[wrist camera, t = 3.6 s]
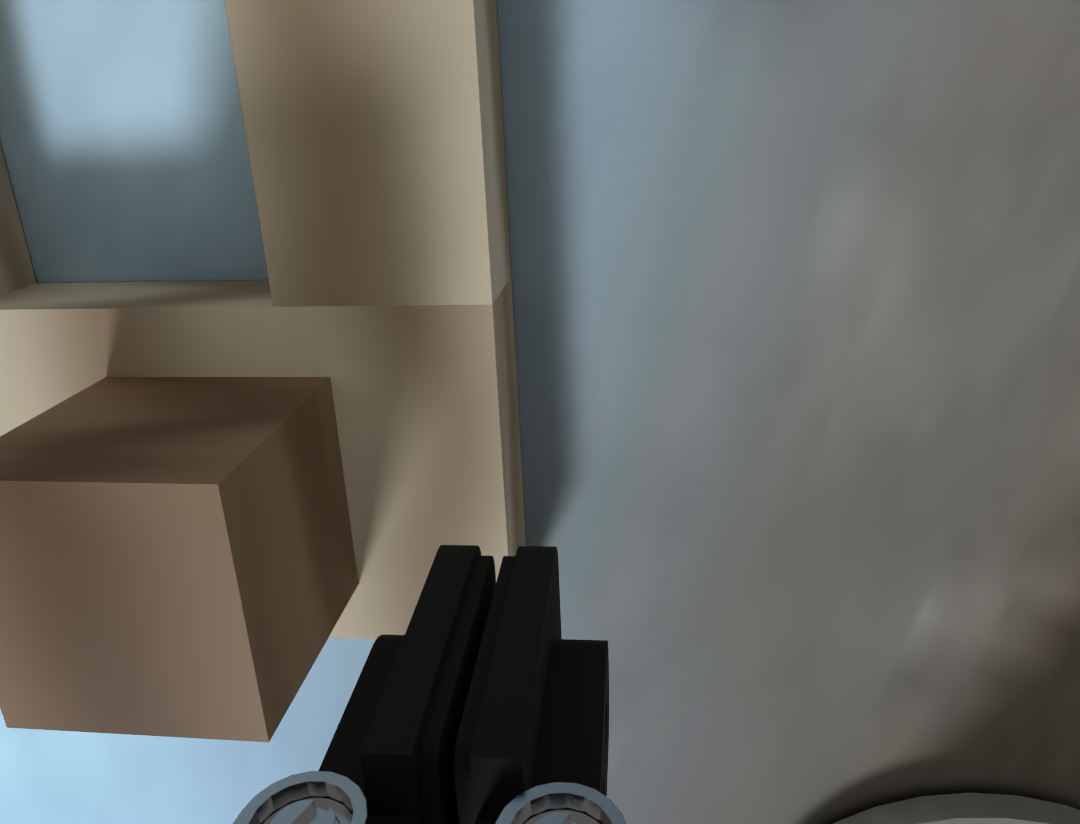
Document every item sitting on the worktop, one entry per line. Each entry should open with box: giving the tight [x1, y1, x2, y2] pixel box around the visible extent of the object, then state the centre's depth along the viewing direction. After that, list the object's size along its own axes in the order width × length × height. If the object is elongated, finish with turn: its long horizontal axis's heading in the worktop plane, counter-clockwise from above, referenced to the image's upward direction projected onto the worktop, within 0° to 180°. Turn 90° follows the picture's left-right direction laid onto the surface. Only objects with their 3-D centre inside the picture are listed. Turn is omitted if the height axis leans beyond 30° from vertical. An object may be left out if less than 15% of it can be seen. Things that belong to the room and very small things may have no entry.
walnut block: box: [0, 377, 359, 742], centre depth 17 cm, size 5×5×5 cm
